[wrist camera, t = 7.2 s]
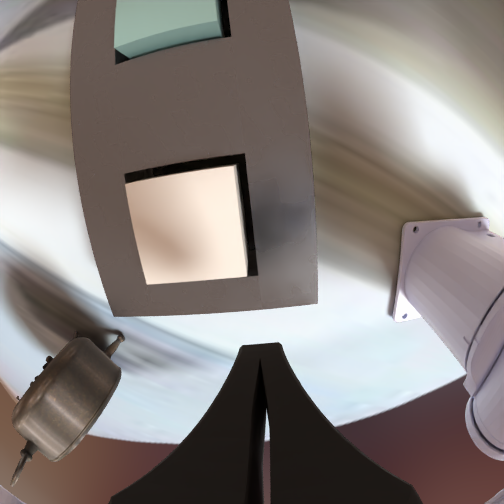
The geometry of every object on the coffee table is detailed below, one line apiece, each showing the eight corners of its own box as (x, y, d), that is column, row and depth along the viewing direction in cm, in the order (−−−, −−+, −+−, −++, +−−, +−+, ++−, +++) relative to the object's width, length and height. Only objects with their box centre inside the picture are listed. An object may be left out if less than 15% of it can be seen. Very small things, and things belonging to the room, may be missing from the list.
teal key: (219, -10, 11) (210, -44, 7) (225, 50, 12) (217, 20, 9) (142, 8, 11) (118, -19, 7) (143, 67, 13) (113, 48, 9)
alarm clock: (92, 384, 23) (33, 502, 8) (54, 350, 22) (-21, 459, 6) (144, 342, 20) (67, 519, 5) (96, 296, 19) (-25, 453, 4)
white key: (238, 163, 15) (233, 166, 11) (248, 248, 16) (246, 276, 13) (154, 176, 15) (125, 184, 11) (168, 256, 17) (147, 284, 13)
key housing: (269, -29, 11) (272, -61, 7) (305, 273, 18) (317, 303, 14) (106, 7, 11) (80, -14, 8) (136, 287, 19) (113, 316, 15)
